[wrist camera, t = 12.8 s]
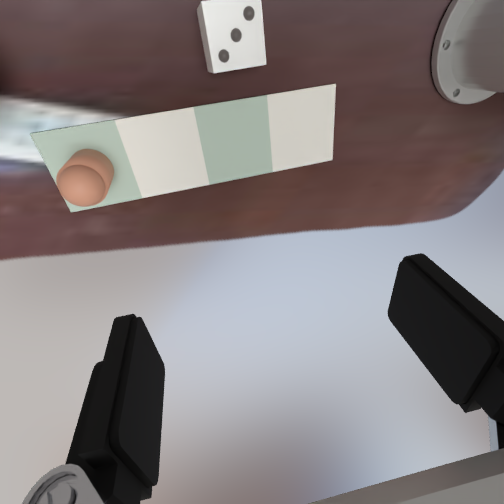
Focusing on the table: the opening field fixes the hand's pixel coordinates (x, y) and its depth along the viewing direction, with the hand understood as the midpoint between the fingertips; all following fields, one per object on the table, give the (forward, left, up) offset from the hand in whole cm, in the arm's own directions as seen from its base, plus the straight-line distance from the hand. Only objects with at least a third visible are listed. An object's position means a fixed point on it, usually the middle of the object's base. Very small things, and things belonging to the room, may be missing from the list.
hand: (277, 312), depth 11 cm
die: (-4, -9, -25) cm, 27 cm away
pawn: (+12, 0, -25) cm, 27 cm away
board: (0, 0, -25) cm, 25 cm away
